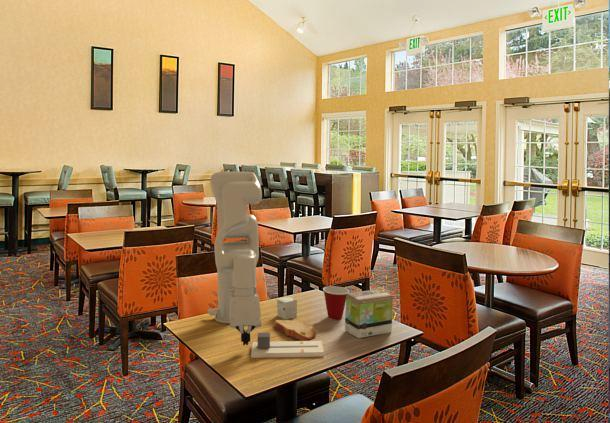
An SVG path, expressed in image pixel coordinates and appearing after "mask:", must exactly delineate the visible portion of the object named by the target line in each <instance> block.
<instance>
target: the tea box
mask: <svg viewBox="0 0 610 423" xmlns="http://www.w3.org/2000/svg"><path fill="white" fill-rule="evenodd" d="M393 303H394V295H392V294H390V293H388V292H385V291H383V290H381V289H379V288H377V289H371V290H369V289H368V290H363V291H356V292H349V293H347V294H346V302H345V312H344V313H345V316H344V317H345V319H344V320H345V321H344V330H345V331H346V332H347V333H349V334H350V335H352V336H354V337H355V338H357V339H362V338H366V337H373V336H377V335H385V334H390V332H391V333H392V331H393V330H392V328H393V306H394V305H393Z"/></svg>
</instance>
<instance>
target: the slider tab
mask: <svg viewBox="0 0 610 423" xmlns="http://www.w3.org/2000/svg"><path fill="white" fill-rule="evenodd" d="M257 342H258V348H270V342H271V333H270V332H258V333H257Z"/></svg>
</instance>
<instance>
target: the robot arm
mask: <svg viewBox="0 0 610 423" xmlns="http://www.w3.org/2000/svg"><path fill="white" fill-rule="evenodd" d="M210 188H211V191H212V194H213V197H214V199H215V203H216V208H217V209H216V210H217V211H216V212H217V213H216V215H217V216H216V218H217V234H216V236H215V239H214V259H215V261H214V262H215V266H216V270H217V271H216V272H217V298H218V299H217V304H218V306H217V307H216V308H208V309H207V315H208V314H209V315H210V316H214V320H215V322H217V323H220V324H226V325H227V324H229V327H230V328H233V329H236V330H237V331H238V332H239V333H240V341H241V343H242V345H243V346H248V345H249V343H250V342H251V333H252V332H253V331H254V330H255V329H258V328H261V327H262V322H261V302H260V296H259V293H257V264H258V262H259V257H260V250H259V248H260V247H259V246H260V244H259V241H260V240H259V224H258V220H257V217H256V216H255V215H254V214H250V213H248V212H249V211H248V206H247V205H258V204H259V203H261V201H262V197H263V191H262V186H261V183H260V182H259V179H258V177H257V176H256V174H255V172H253V171H247V170H246V171H234V170H233V171H231V170H230V171H219V172H215V173H212V175H211V176H210ZM224 239H246V240H243V241H242V240H241V241H224ZM245 327H247V329H245Z"/></svg>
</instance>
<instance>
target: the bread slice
mask: <svg viewBox="0 0 610 423" xmlns="http://www.w3.org/2000/svg"><path fill="white" fill-rule="evenodd" d="M273 327H274V328H275V329H276V330H277V331H279V333H280V332H281V334H283V335H285V336H287V337H289V338H291V339H296V341H314V340H315V339H316V335H317V331H316V329H315V327H314V326H313V325H312V324H310V323H306V322H304V321H303V322H301V321H298V320H290V319H286V320H284V319H276V320H275V321H274V323H273Z"/></svg>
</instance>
